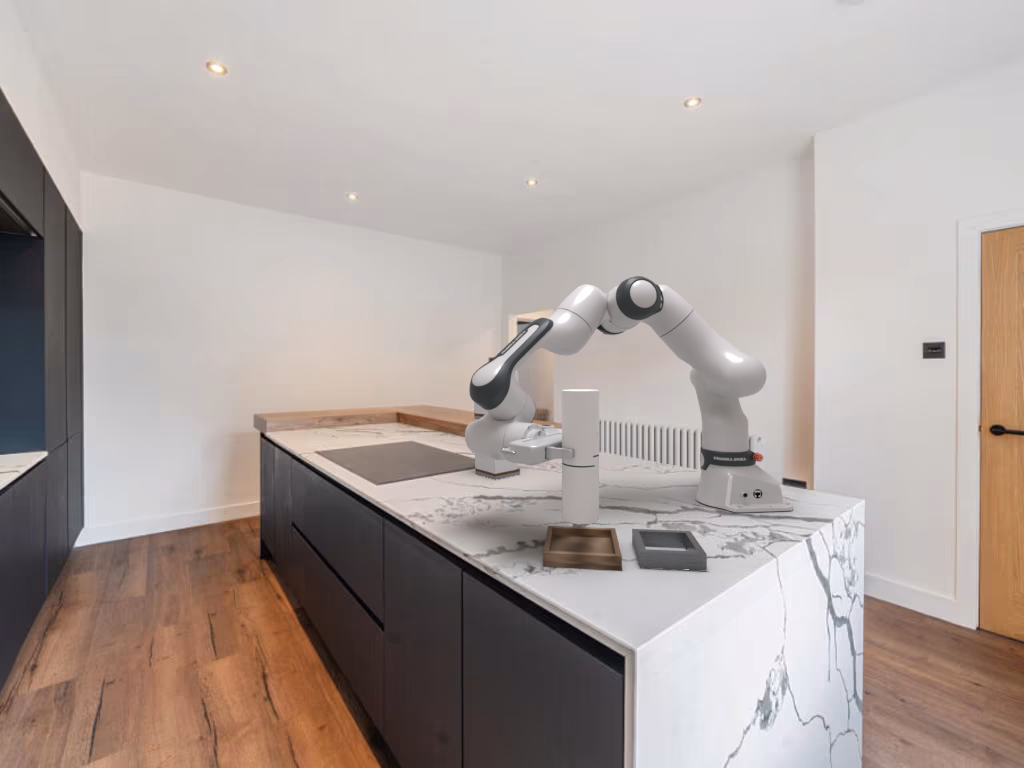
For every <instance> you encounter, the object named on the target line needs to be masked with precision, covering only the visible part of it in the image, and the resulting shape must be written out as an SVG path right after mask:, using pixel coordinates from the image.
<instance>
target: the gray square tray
mask: <svg viewBox="0 0 1024 768" xmlns="http://www.w3.org/2000/svg"><path fill="white" fill-rule="evenodd" d="M631 544H632V547H633V550H635V551H634V554H635V553H636V554H635V555H636V556H637V557H636V556H635V557H636V560H637V563H638V567H639V568H640V569H650V568H663V569H662V570H670V569H689V570H688V571H690V570H707V571H708V567H707V566H708V563H707V561H708V560H707V559H708V554H707V552H705V550H704V548H703V547H702V546H701V545H700V543H699V541H698V540H697V539H696V537H695V535H694V534H693V533H692V531H691V530H673V529H672V530H670V529H649V528H648V529H646V528H645V529H643V528H632V529H631ZM656 546H661V547H662V546H663V548H679V547H686V548H685V550H676V549H675V550H673V549H670V550H669V549H652V548H651V549H648V548H646V547H656ZM665 546H666V547H665ZM687 550H688V551H687Z"/></svg>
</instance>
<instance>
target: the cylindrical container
mask: <svg viewBox="0 0 1024 768" xmlns="http://www.w3.org/2000/svg"><path fill="white" fill-rule="evenodd" d="M561 429H562V448H571V449H574V450H575V457H574V458H571V459H563V458H562V459H561V518H562V519H563V521H565V522H567V523H570V524H576V525H590V524H595V523H597V522H598V521H599V520H600V390H599V389H591V388H590V389H586V388H585V389H584V388H581V389H578V388H575V389H562V390H561Z"/></svg>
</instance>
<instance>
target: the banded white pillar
mask: <svg viewBox="0 0 1024 768" xmlns="http://www.w3.org/2000/svg"><path fill="white" fill-rule="evenodd" d="M519 378H520V377H519V372H515V380H516V381H517V382H518V383H520V382H519V381H520V380H519ZM473 409H474V410H473V411H474V412H473V419H474V421H476V420H478V419H480V418H481V417H483V416H484V415H485V414H486V413H487V411H486V410H485V409H483V408H482V407H481V406H479V405H478V404H477V403H475V402H474V401H473ZM474 472H475V473H474V474H475V475H477V474H479V475H478V476H480V475H482V476H481V477H483V476H485V477H484V478H487V477H488V478H487V479H490V478H492V479H491V480H493V479H495V481H497V480H496V479H498V480H502V479H501V478H503V479H506V477H507V478H511V477H510V476H512V477H516V476H515V475H517V476H521V469H520V468H518V463H512V462H509V461H507V460H505V459H503V460H494V459H489V458H485V457H481V456H478V455H476V454H474Z"/></svg>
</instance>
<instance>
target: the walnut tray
mask: <svg viewBox="0 0 1024 768" xmlns="http://www.w3.org/2000/svg"><path fill="white" fill-rule="evenodd" d="M546 530H547V531H546V535H545V541H544V547H543V550H542V551H543V552H542V553H543V555H542V558H543V559H542V560H543V561H542V563H543V564H542V565H543V567H546V566H548V568H549V567H550V568H551V567H552V568H569V569H589V570H591V569H592V570H606V571H607V570H611V571H622V570H623V555H622V552H621V548H620V543H619V539H618V535H617V530H616V528H615V527H613V528H612V527H591V526H589V527H586V526H566V525H565V526H561V525H547V529H546Z"/></svg>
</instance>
